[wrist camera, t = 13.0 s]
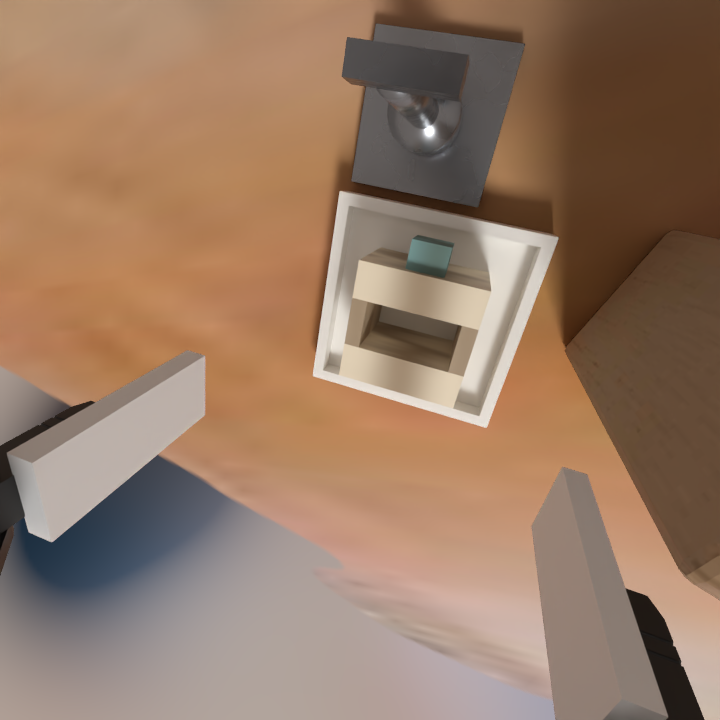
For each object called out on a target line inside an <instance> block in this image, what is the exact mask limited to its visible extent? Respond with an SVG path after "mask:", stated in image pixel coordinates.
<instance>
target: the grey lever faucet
mask: <svg viewBox="0 0 720 720" xmlns="http://www.w3.org/2000/svg"><path fill="white" fill-rule="evenodd" d="M524 46H525V44H523V43H516V42H508V41H501V40H494V39H486V38H479V37H472V36H464V35H457V34H450V33H442V32H435V31H428V30H420V29H413V28H406V27H398V26H391V25H384V24H376V27H375V33H374V40H373V41H370V40H364V39H357V38H350V37H347V41H346V49H345V56H344V64H343V71H342V77H343V78H344V79H345V80H346V81H348V82H349V83H350V84H353V85H359V86H365V87H366V91H365V97H364V104H363V110H362V116H361V123H360V129H359V136H358V142H357V148H356V155H355V161H354V168H353V174H352V180H351V181H353V182H358V183H362V184H367V185H372V186H377V187H382V188H387V189H391V190H396V191H401V192H406V193H411V194H415V195H420V196H425V197H430V198H435V199H440V200H444V201H449V202H454V203H459V204H464V205H469V206H473V207H478V206H479V202H480V199H481V195H482V192H483V188H484V185H485V181H486V178H487V175H488V171H489V168H490V164H491V161H492V157H493V154H494V150H495V147H496V143H497V140H498V136H499V133H500V129H501V126H502V122H503V119H504V115H505V112H506V109H507V105H508V102H509V98H510V95H511V91H512V88H513V84H514V81H515V77H516V74H517V70H518V67H519V63H520V60H521V56H522V53H523V49H524Z"/></svg>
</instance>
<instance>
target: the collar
mask: <svg viewBox="0 0 720 720" xmlns="http://www.w3.org/2000/svg"><path fill="white" fill-rule="evenodd" d="M454 244H455V243H452V242H448V241H443V240H439V239H434V238H430V237H425V236H421V235H417V236H415V237H414V238H413V239H412V242H411V246H410V250H409V254H407V253H403V252H398V251H394V250H390V249H385V248H379V249H377V250H375V251H374V252H372V253H370V254H368V255H367V256H365V257H363V258H362V259H360V260H359V263H358V269H357V274H356V280H355V286H354V291H353V297H352V303H351V308H350V314H349V320H348V326H347V331H346V337H345V343H344V348H343V354H342V360H341V365H340V371H339V375H340V376H344V377H347V378H351V379H354V380H358V381H361V382H364V383H368V384H371V385H375V386H378V387H381V388H385V389H388V390H392V391H395V392H399V393H402V394H405V395H409V396H412V397H416V398H419V399H422V400H426V401H429V402H433V403H436V404H440V405H443V406H446V407H450V408H454V404H455V401H456V398H457V395H458V392H459V389H460V386H461V383H462V380H463V377H464V374H465V371H466V368H467V365H468V362H469V359H470V356H471V352H472V349H473V346H474V343H475V340H476V337H477V334H478V331H479V328H480V325H481V322H482V319H483V316H484V313H485V310H486V307H487V304H488V301H489V297H490V294H491V283H490V274H489V272H485V271H480V270H476V269H472V268H467V267H463V266H459V265H454V264H450V263H449V262H450V258H451V255H452V251H453V247H454ZM382 305H383V306H387V307H391V308H394V309H398V310H402V311H406V312H410V313H414V314H418V315H422V316H426V317H429V318H433V319H437V320H441V321H445V322H449V323H453V324H457V325H458V328H457V331H456V334H455V338H454V341H452V340H448V339H444V338H440V337H436V336H433V335H429V334H425V333H421V332H418V331H414V330H410V329H406V328H402V327H399V326H395V325H391V324H387V323H383V322H380V321H379V318H380V313H381V309H382Z"/></svg>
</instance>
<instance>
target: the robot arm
mask: <svg viewBox="0 0 720 720" xmlns="http://www.w3.org/2000/svg"><path fill="white" fill-rule="evenodd" d="M203 416H205V356H204V355H201V354H198V353H195V352H192V351H188V350H187V351H185V352H184V353H182V354H180V355H178V356H177V357H175V358H173V359H171V360H169V361H168V362H166V363H164V364H162V365H161V366H159V367H157V368H155V369H154V370H152V371H150V372H148V373H147V374H145V375H143V376H141V377H140V378H138V379H136V380H134V381H132V382H131V383H129V384H127V385H125V386H124V387H122V388H120V389H118V390H117V391H115V392H113V393H111V394H110V395H108V396H106V397H104V398H103V399H101V400H99V401H97V402H93V401H89V402H86V403H83V404H79V405H76V406H73V407H70V408H69V409H67V410H65V411H63V412H61V413H59V414H58V415H56V416H55V418H50V419H48V420H47V421H45V422H43V423H42V424H41V425H40V426H39V425H38V426H36V427H34V428H32V429H30V430H28V431H26V432H25V433H23V434H21V435H19V436H17V437H15V438H14V439H12V440H10V441H8V442H6V443H4V444H3V445H1V446H0V575H1V572H2V569H3V566H4V562H5V560H6V556H7V553H8V551H9V548H10V544H11V542H12V539H13V535H14V528H13V525H14V524H15V523H16V522H18V521H19V520H20V519H22V518H23V517H25V520H26V524H27V527H28V531H29V532H30V533H32V534H34V535H36V536H39V537H41V538H43V539H45V540H48V541H50V542H53V541H54V540H55V539H57V538H58V537H59V536H60V535H61V534H63V533H64V532H65V531H66V530H67V529H69V528H70V527H71V526H72V525H73V524H74V523H76V522H77V521H78V520H79V519H80V518H82V517H83V516H84V515H85V514H86V513H88V512H89V511H90V510H91V509H93V508H94V507H95V506H96V505H97V504H98V503H100V502H101V501H102V500H103V499H105V498H106V497H107V496H108V495H109V494H111V493H112V492H113V491H114V490H115V489H117V488H118V487H119V486H120V485H121V484H123V483H124V482H125V481H126V480H127V479H129V478H130V477H131V476H132V475H133V474H135V473H136V472H137V471H138V470H140V469H141V468H142V467H143V466H144V465H145V464H146V463H148V462H149V461H150V460H152V459H153V458H154V457H155V456H156V455H158V454H159V453H160V452H161V451H162V450H164V449H165V448H166V447H167V446H168V445H170V444H171V443H172V442H173V441H174V440H176V439H177V438H178V437H179V436H180V435H182V434H183V433H184V432H185V431H186V430H188V429H189V428H190V427H191V426H192V425H194V424H195V423H196V422H197V421H198V420H200V419H201V418H202V417H203ZM532 534H533V542H534V550H535V558H536V566H537V574H538V582H539V590H540V599H541V607H542V615H543V623H544V631H545V639H546V647H547V655H548V663H549V671H550V679H551V687H552V695H553V703H554V711H555V719H556V720H704V717H703V715H702V712H701V710H700V707H699V705H698V702H697V700H696V697H695V695H694V692H693V690H692V687H691V685H690V682H689V680H688V677H687V675H686V672H685V670H684V667H682V666H681V660H680V657H679V655H678V652H677V650H676V647H674V646H673V640H672V637H671V635H670V632H669V630H668V627H667V625H666V622H665V620H664V618H663V617H662V615H661V614H660V613H659V611H658V610H657V608H656V607H655V606H654V604H653V603H652V602H651V600H650V599H649V598H648V596H646V595H643V594H640V593H637V592H634V591H631V590H629V589H626V588H625V586H624V583H623V580H622V577H621V574H620V571H619V568H618V565H617V562H616V559H615V556H614V553H613V550H612V547H611V544H610V541H609V538H608V535H607V532H606V529H605V526H604V523H603V520H602V517H601V514H600V511H599V508H598V505H597V502H596V499H595V496H594V493H593V490H592V487H591V484H590V481H589V478H588V475H587V474H584V473H581V472H578V471H575V470H571V469H568V468H565V467H562V468H561V470H560V472H559V474H558V476H557V478H556V480H555V482H554V484H553V486H552V488H551V490H550V491H549V493H548V495H547V497H546V499H545V501H544V503H543V505H542V507H541V509H540V511H539V513H538V515H537V517H536V518H535V520H534V522H533V524H532Z"/></svg>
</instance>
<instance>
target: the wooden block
mask: <svg viewBox="0 0 720 720" xmlns="http://www.w3.org/2000/svg"><path fill="white" fill-rule="evenodd" d="M565 352H566V354H567V356H568V358H569V360H570V362H571V364H572V366H573V368H574V370H575V372H576V373H577V375H578V377H579V379H580V381H581V383H582V385H583V387H584V389H585V391H586V393H587V395H588V396H589V398H590V400H591V402H592V404H593V406H594V408H595V410H596V412H597V414H598V416H599V417H600V419H601V421H602V423H603V425H604V427H605V429H606V431H607V433H608V435H609V437H610V438H611V440H612V442H613V444H614V446H615V448H616V450H617V452H618V454H619V456H620V458H621V459H622V461H623V463H624V465H625V467H626V469H627V471H628V473H629V475H630V477H631V479H632V480H633V482H634V484H635V486H636V488H637V490H638V492H639V494H640V496H641V498H642V500H643V501H644V503H645V505H646V507H647V509H648V511H649V513H650V515H651V517H652V519H653V521H654V523H655V524H656V526H657V528H658V530H659V532H660V534H661V536H662V538H663V540H664V542H665V544H666V545H667V547H668V549H669V551H670V553H671V555H672V557H673V559H674V561H675V563H676V565H677V566H678V568H679V570H680V571H681V573H682V574H683V575H684V577H685V578H687V579H688V580H689V581H690V582H692V583H693V584H694V585H696V586H698V587H699V588H701V589H702V590H704V591H706V592H707V593H709V594H710V595H712V596H714V597H715V598H717V599H718V600H720V239H717V238H712V237H707V236H702V235H697V234H693V233H688V232H683V231H677V230H672V231H670V232H669V233H667V234H666V235H665V236H664V237H663V238H662V239H661V240H660V242H659V243H658V244H657V245H656V246H655V247H654V248H653V249H652V251H651V252H650V253H649V254H648V255H647V256H646V257H645V258H644V260H643V261H642V262H641V263H640V264H639V265H638V266H637V267H636V269H635V270H634V271H633V272H632V273H631V274H630V275H629V276H628V278H627V279H626V280H625V281H624V282H623V283H622V284H621V285H620V287H619V288H618V289H617V290H616V291H615V292H614V293H613V295H612V296H611V297H610V298H609V299H608V300H607V301H606V302H605V304H604V305H603V306H602V307H601V308H600V309H599V310H598V311H597V313H596V314H595V315H594V316H593V317H592V318H591V319H590V320H589V322H588V323H587V324H586V325H585V326H584V327H583V328H582V329H581V331H580V332H579V333H578V334H577V335H576V336H575V337H574V338H573V340H572V341H571V342H570V343H569V344H568V345H567V346H566V349H565Z"/></svg>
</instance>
